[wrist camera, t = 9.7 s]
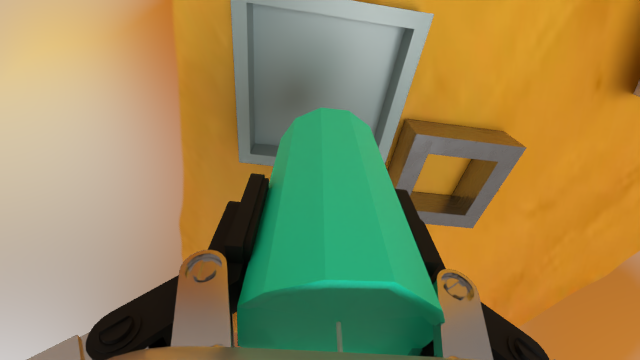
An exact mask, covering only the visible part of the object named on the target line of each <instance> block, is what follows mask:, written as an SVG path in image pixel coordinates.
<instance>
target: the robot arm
mask: <svg viewBox="0 0 640 360" xmlns="http://www.w3.org/2000/svg"><path fill="white" fill-rule="evenodd" d="M268 189H269V179H268V178H265V176H264V175H261V174H251V175H250V178H249V181H248V183H247V186H246V189H245V191H244V194H243V197H242V199H241V202H234V201H229V202H228V204H227V206H226V209H225V211H224V213H223V216H222V218H221V220H220V223H219V225H218V227H217V230H216V232H215V234H214V236H213V239H212V241H211V243H210V246H209V248H208V250H203V251H199V252H196V253H194V254H192V255H191V256H189V257H188V258H187V259H186V260H185V261H184V262H183V264H182V265H181V268H180V271H179V275H178V276H176V277H174V278H173V279H171V280H169V281H167V282H165V283H163V284H162V285H160V286H158V287H156V288H154V289H152V290H151V291H149V292H147V293H145V294H143V295H142V296H140V297H138V298H136V299H134V300H132V301H131V302H129V303H127V304H125V305H123V306H121V307H119V308H118V309H116V310H114V311H112V312H110V313H109V314H108V315H106V316H104V317H103V318H102V319H101V320H100V321H99V322H98V323H97V324H95V325H94V327H93V328H92V330H91V331H90V332H89V333H87V334H85V335H83V336H82V337H79V336H78V335H75V336H73V337H71V338H69V339H67V340H65V341H63V342H61V343H59V344H57V345H55V346H53V347H51V348H49V349H47V350H46V351H43V352H41V353H39V354H37V355H35V356H33V357H31V358H29V359H27V360H549V358H548V356H547V354H546V353H545V352H544V350H543V349H542V348H541V346H540V345H539V344H538V343H537V342H535V341H534V340H533V339H532V338H531V337H529V336H528V335H527V334H525V333H524V332H523V331H521V330H520V329H518V328H517V327H515V326H514V325H513V324H511V323H510V322H508V321H507V320H506V319H504V318H503V317H501V316H500V315H499V314H497V313H496V312H494V311H493V310H492V309H490V308H489V307H487V306H486V305H484V304H483V303H482V302H480V298H479V293H478V291H477V288H476V286H475V285H474V284H473V282H472V281H471V280H470V279H469V278H468V277H467V276H465V275H464V274H462V273H460V272H458V271H456V270H452V269H446V268H445V266H444V264H443V262H442V260H441V258H440V255H439V253H438V251H437V249H436V247H435V245H434V243H433V240H432V238H431V236H430V234H429V232H428V230H427V228H426V226H425V223H424V222H423V221H422V220H421V219H420V217H419V215H418V213H417V211H416V209H415V206H414V204H413V202H412V200H411V198H410V196H409V193H408V191H407V190H404V189H395V192H396V194H397V197H398V199H399V202H400V204H401V207H402V209H403V212H404V214H405V217H406V219H407V222H408V224H409V227H410V229H411V232H412V234H413V237H414V240H415V242H416V245H417V247H418V250H419V252H420V255H421V257H422V260H423V262H424V265H425V267H426V270H427V272H428V275H429V277H430V280H431V282H432V285H433V288H434V290H435V293H436V295H437V298H438V300H439V303H440V305H441V308H442V310H443V314H444V318H445V322H440V323H439V324H437V325H436V326H434V325H433V340H432V341H431V342H430V343H429V344H427V345H426V346H425V347H423V348H422V349H421V348H412V349H411V351H410V352H409V354H408V355H407V356H406V355H388V354H368V353H348V352H328V351H307V350H285V349H263V348H240V347H235V345H234V327H233V314H234V313H235V312H236V311H237V305H238V301H239V297H240V294H241V290H242V286H243V282H244V278H245V274H246V271H247V267H248V263H249V261H250V259H251V255H252V252H253V248H254V244H255V240H256V236H257V232H258V228H259V224H260V220H261V216H262V212H263V208H264V205H265V201H266V197H267V193H268ZM554 360H555V359H554Z"/></svg>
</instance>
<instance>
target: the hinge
mask: <svg viewBox="0 0 640 360" xmlns="http://www.w3.org/2000/svg"><path fill="white" fill-rule="evenodd" d="M634 95H637V96H639V97H640V80H639V82H638V85H637V87H636V89H635V91H634Z"/></svg>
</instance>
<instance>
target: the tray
mask: <svg viewBox="0 0 640 360" xmlns="http://www.w3.org/2000/svg"><path fill="white" fill-rule="evenodd" d="M433 16H434V14H430V13H424V12H418V11H412V10H406V9H400V8H394V7H388V6H382V5H376V4H370V3H364V2H358V1H352V0H231V17H232V35H233V54H234V73H235V92H236V110H237V129H238V148H239V162H241V163H251V164H260V165H269V166H274V163H275V159H276V155H277V152H278V148H279V144H280V140H281V138H282V136H283V135H284V134H285V132H286V131H287V129H288V128H289V127H290V125H291V124H292V122H293V121H294V120H295V118H297V117H300V116H302V115H304V114H307V113H309V112H312V111H314V110H316V109H319V108H330V109H339V110H348V111H350V112H351V113H353V114H354V115H355V116H357V117H358V118H359V119H361V120H362V121H363V122H365V123H366V124H367V125H369V126H370V128H371V131H372V133H373V136H374V139H375V141H376V144H377V146H378V149H379V151H380V154H381V156H382V159H383V161H384V164H385V162H386V159H387V156H388V153H389V150H390V147H391V144H392V141H393V138H394V135H395V132H396V129H397V126H398V123H399V120H400V117H401V114H402V111H403V108H404V104H405V101H406V98H407V95H408V92H409V89H410V86H411V83H412V80H413V77H414V74H415V71H416V68H417V65H418V62H419V59H420V56H421V53H422V50H423V47H424V44H425V41H426V37H427V34H428V31H429V28H430V25H431V22H432V19H433Z"/></svg>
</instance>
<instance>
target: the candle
mask: <svg viewBox="0 0 640 360" xmlns="http://www.w3.org/2000/svg"><path fill="white" fill-rule="evenodd" d="M440 322H445V318H444V314H443V310H442V308H441V305H440V303H439V300H438V298H437V295H436V293H435V290H434V288H433V285H432V282H431V280H430V277H429V275H428V272H427V270H426V267H425V265H424V262H423V260H422V257H421V255H420V252H419V250H418V247H417V245H416V242H415V240H414V237H413V234H412V232H411V229H410V227H409V224H408V222H407V219H406V217H405V214H404V212H403V209H402V207H401V204H400V202H399V199H398V197H397V194H396V192H395V189H394V187H393V184H392V181H391V179H390V176H389V174H388V171H387V169H386V166H385V164H384V161H383V159H382V156H381V154H380V151H379V149H378V146H377V144H376V141H375V139H374V136H373V133H372V131H371V128H370V126H369V125H367V124H366V123H365V122H363V121H362V120H361V119H359V118H358V117H357V116H355V115H354V114H353V113H351V112H350V111H348V110H339V109H330V108H319V109H316V110H314V111H312V112H309V113H307V114H304V115H302V116H300V117H297V118H295V120H294V121H293V122H292V124H291V125H290V127H289V128H288V129H287V131H286V132H285V134H284V135H283V136H282V138H281V140H280V144H279V148H278V152H277V155H276V159H275V163H274V167H273V171H272V175H271V178H270V182H269V189H268V193H267V197H266V201H265V205H264V208H263V212H262V216H261V220H260V224H259V228H258V232H257V236H256V240H255V244H254V248H253V252H252V255H251V259H250V261H249V263H248V267H247V271H246V274H245V278H244V282H243V286H242V290H241V294H240V297H239V301H238V305H237V331H238V346H240V347H243V348H263V349H285V350H307V351H328V352H348V353H368V354H388V355H406V356H407V355H408V354H409V352H410V351H411V349H412V348H421V349H422V348H423V347H425V346H426V345H427V344H429V343H430V342H431V341H432V340H433V325H434V326H436V325H437V324H439V323H440Z"/></svg>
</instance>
